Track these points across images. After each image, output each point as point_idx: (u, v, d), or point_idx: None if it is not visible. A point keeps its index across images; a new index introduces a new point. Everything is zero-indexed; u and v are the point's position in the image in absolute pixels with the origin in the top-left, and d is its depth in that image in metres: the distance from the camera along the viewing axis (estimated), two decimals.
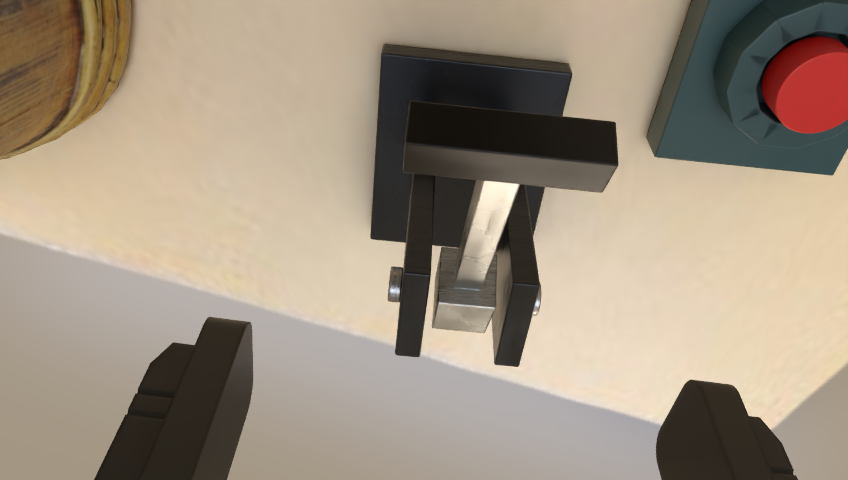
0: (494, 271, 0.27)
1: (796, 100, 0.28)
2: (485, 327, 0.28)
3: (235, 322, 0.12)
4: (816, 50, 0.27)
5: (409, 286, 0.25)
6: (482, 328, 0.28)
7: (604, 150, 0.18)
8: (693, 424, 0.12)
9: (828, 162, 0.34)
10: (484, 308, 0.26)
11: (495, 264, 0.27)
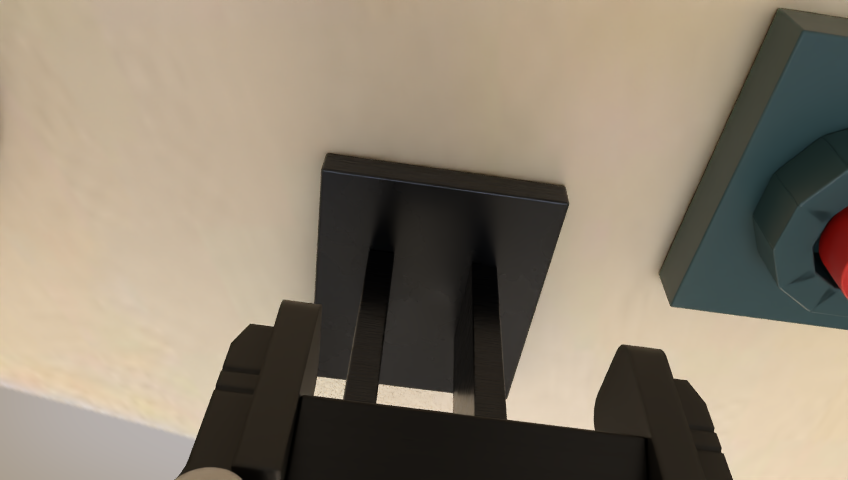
0: None
1: None
2: None
3: (309, 304, 0.12)
4: None
5: None
6: None
7: None
8: (622, 386, 0.12)
9: None
10: None
11: None
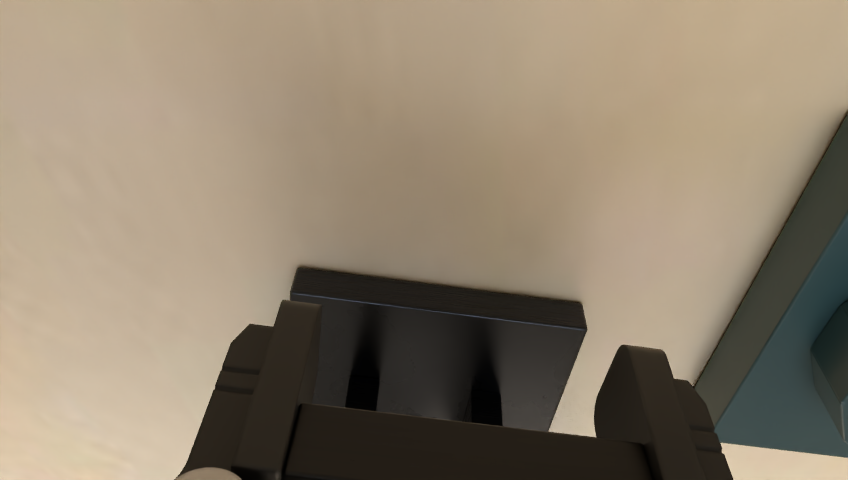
0: None
1: None
2: None
3: (308, 304, 0.12)
4: None
5: None
6: None
7: None
8: (623, 386, 0.12)
9: None
10: None
11: None
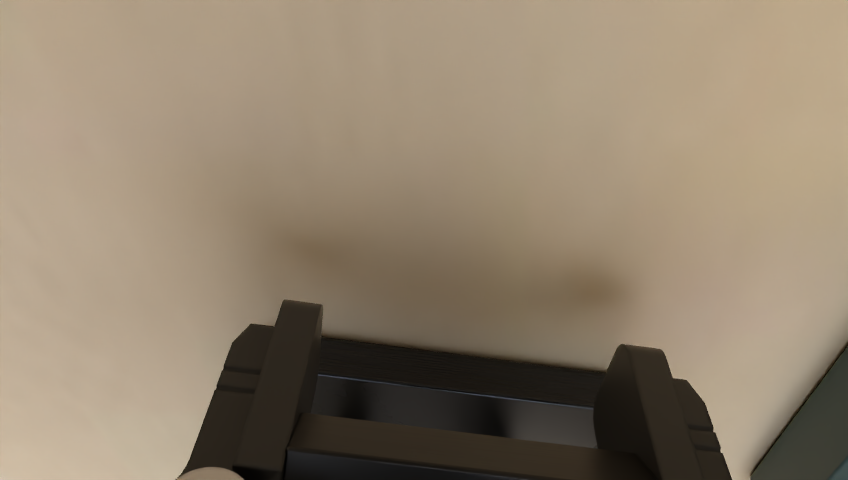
0: None
1: None
2: None
3: (309, 304, 0.12)
4: None
5: None
6: None
7: (635, 477, 0.10)
8: (621, 386, 0.12)
9: None
10: None
11: None
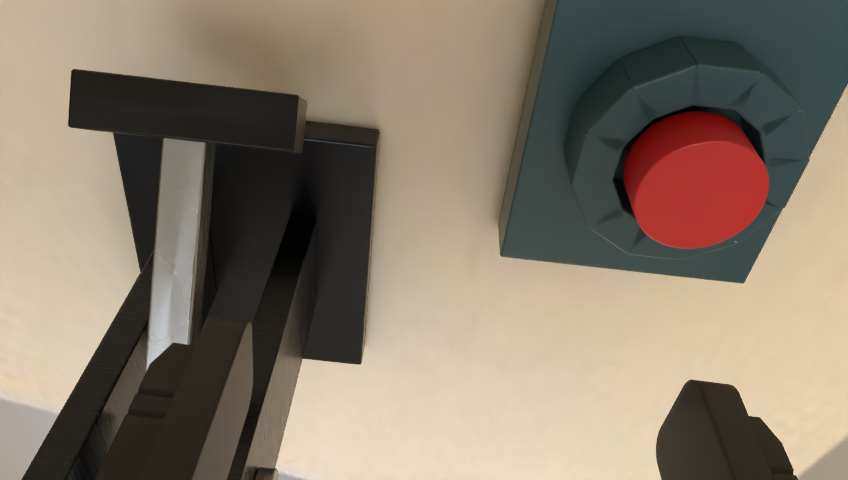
0: None
1: (663, 205, 0.19)
2: None
3: (235, 322, 0.12)
4: (688, 135, 0.18)
5: None
6: None
7: None
8: (693, 424, 0.12)
9: (736, 267, 0.25)
10: None
11: None
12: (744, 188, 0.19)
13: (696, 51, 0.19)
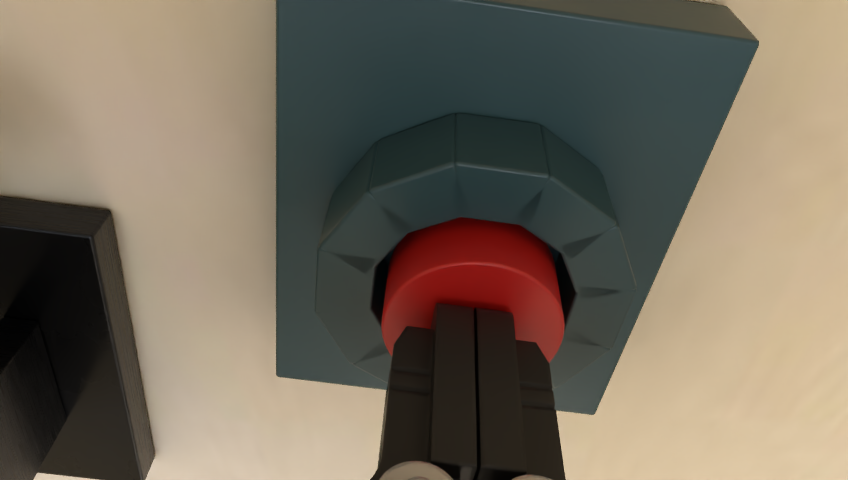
0: None
1: None
2: None
3: (462, 307, 0.13)
4: (444, 250, 0.13)
5: None
6: None
7: None
8: None
9: (581, 397, 0.19)
10: None
11: None
12: (529, 323, 0.13)
13: (465, 140, 0.13)
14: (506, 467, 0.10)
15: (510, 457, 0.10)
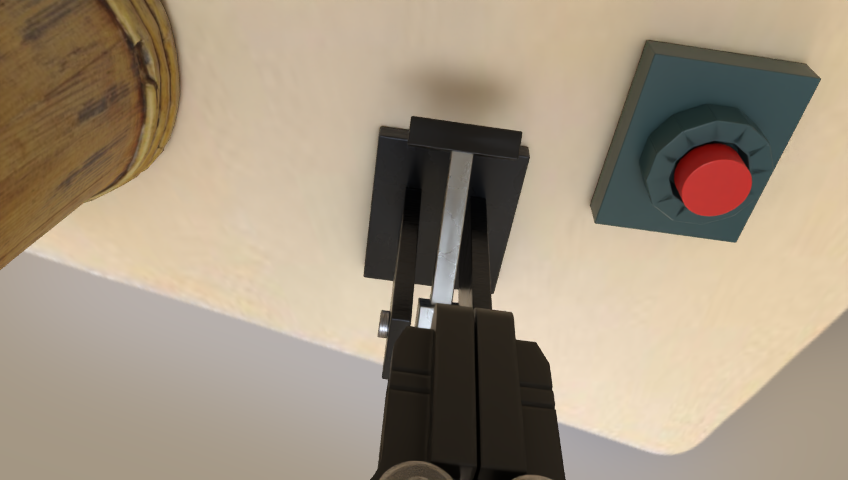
0: (458, 305, 0.36)
1: (697, 192, 0.37)
2: None
3: (462, 307, 0.13)
4: (711, 156, 0.36)
5: (395, 328, 0.33)
6: None
7: None
8: None
9: (731, 232, 0.42)
10: None
11: (459, 305, 0.36)
12: (739, 184, 0.36)
13: (716, 113, 0.36)
14: (506, 467, 0.10)
15: (510, 457, 0.10)
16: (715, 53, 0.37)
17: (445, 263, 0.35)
